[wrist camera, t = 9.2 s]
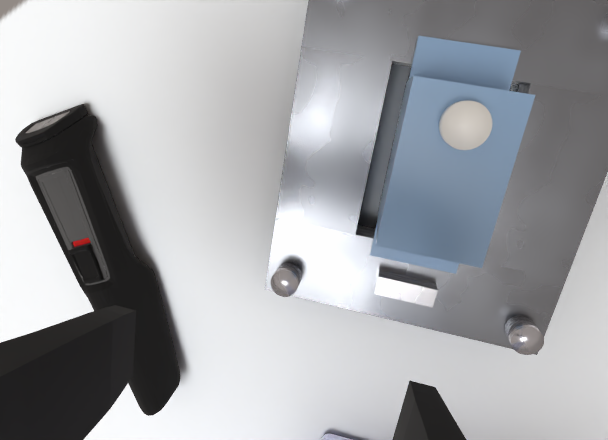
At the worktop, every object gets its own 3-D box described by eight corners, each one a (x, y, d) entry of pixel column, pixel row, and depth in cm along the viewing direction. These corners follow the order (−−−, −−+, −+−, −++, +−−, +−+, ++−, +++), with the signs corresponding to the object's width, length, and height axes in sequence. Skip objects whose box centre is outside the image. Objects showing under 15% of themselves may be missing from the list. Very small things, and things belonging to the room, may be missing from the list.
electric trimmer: (147, 383, 25) (115, 423, 22) (34, 122, 22) (-22, 127, 19) (205, 374, 24) (179, 414, 21) (96, 100, 21) (47, 102, 18)
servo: (449, 256, 19) (472, 317, 14) (371, 240, 20) (365, 292, 14) (505, 55, 17) (560, 36, 11) (415, 42, 17) (427, 17, 12)
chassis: (526, 335, 20) (545, 368, 17) (273, 276, 21) (258, 299, 19) (650, -1, 15) (699, -19, 13) (323, -44, 17) (312, -68, 15)
